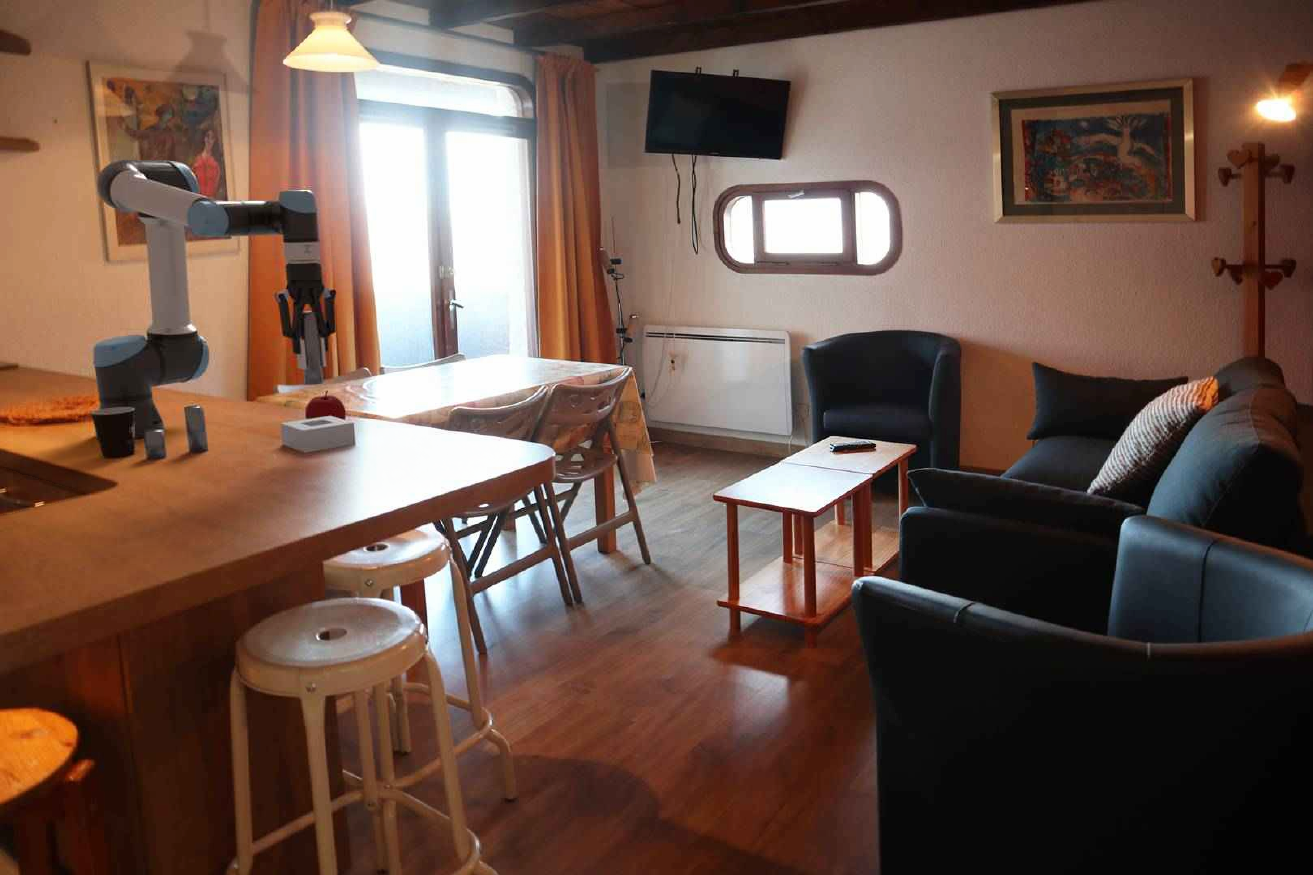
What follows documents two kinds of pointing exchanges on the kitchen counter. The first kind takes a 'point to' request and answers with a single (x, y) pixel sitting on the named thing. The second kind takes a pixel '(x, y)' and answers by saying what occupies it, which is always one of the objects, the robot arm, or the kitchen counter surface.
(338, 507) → the kitchen counter surface
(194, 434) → the medium pin
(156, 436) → the short pin
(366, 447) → the kitchen counter surface
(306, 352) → the long pin
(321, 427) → the hole block
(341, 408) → the apple
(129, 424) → the coffee mug
